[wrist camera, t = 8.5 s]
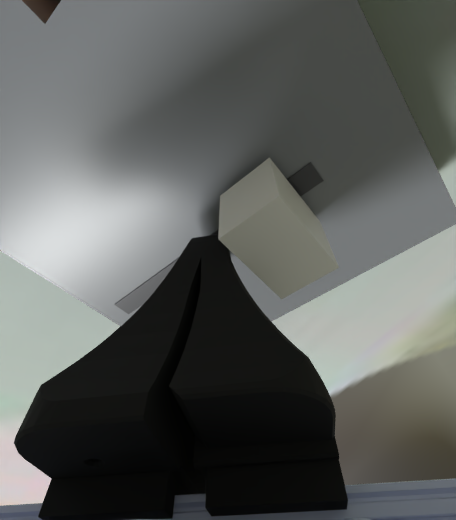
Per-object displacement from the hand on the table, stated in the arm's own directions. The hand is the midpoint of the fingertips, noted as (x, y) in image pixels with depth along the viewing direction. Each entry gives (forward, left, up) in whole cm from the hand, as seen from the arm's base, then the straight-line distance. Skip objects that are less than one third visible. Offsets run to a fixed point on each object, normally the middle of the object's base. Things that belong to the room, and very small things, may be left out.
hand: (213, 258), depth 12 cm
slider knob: (0, +3, 0) cm, 3 cm away
